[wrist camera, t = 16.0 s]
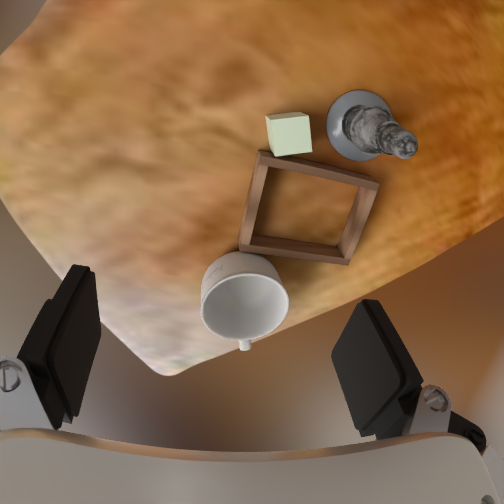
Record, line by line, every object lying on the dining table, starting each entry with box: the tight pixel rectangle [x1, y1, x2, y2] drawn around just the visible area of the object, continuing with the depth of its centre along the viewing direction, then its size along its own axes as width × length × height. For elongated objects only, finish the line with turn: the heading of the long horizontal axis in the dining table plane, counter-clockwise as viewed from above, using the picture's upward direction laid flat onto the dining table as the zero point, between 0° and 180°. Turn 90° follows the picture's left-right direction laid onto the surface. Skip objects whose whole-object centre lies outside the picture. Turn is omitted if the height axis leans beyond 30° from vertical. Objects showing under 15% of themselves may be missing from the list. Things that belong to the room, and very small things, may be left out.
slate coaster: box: [326, 90, 392, 161], centre depth 35 cm, size 9×9×1 cm
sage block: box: [266, 112, 312, 156], centre depth 33 cm, size 4×4×4 cm
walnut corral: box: [238, 150, 380, 265], centre depth 39 cm, size 12×15×3 cm
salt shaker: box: [342, 104, 418, 159], centre depth 29 cm, size 6×6×12 cm
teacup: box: [200, 251, 289, 351], centre depth 42 cm, size 14×11×8 cm
